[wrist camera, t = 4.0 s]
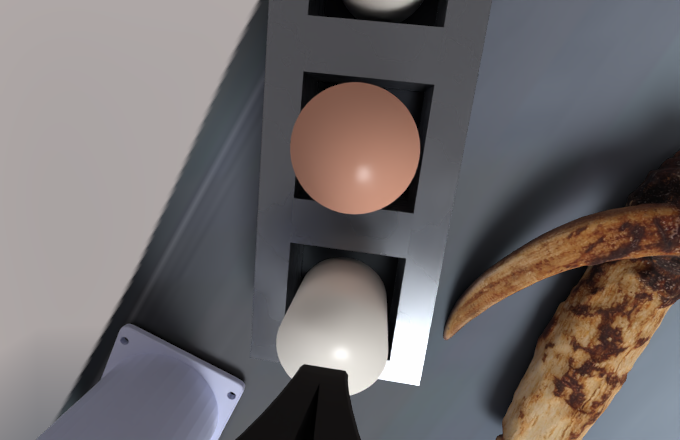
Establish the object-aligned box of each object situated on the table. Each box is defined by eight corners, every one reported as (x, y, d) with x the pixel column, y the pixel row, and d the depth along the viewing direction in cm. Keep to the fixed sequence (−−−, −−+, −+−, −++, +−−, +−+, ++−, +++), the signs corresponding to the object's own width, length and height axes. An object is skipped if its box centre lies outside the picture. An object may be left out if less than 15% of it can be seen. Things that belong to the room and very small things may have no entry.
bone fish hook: (562, 94, 18) (398, 394, 22) (621, 79, 13) (400, 460, 18) (752, 175, 17) (548, 462, 22) (881, 188, 13) (589, 548, 17)
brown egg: (402, 197, 16) (409, 221, 12) (308, 186, 16) (285, 205, 12) (417, 97, 15) (430, 89, 11) (317, 87, 15) (295, 75, 11)
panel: (413, 342, 21) (419, 385, 17) (271, 321, 21) (250, 358, 18) (494, -112, 15) (525, -177, 12) (300, -123, 16) (278, -189, 13)
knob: (380, 343, 18) (379, 405, 14) (296, 330, 18) (272, 387, 14) (392, 263, 17) (396, 306, 13) (303, 251, 17) (280, 289, 13)
